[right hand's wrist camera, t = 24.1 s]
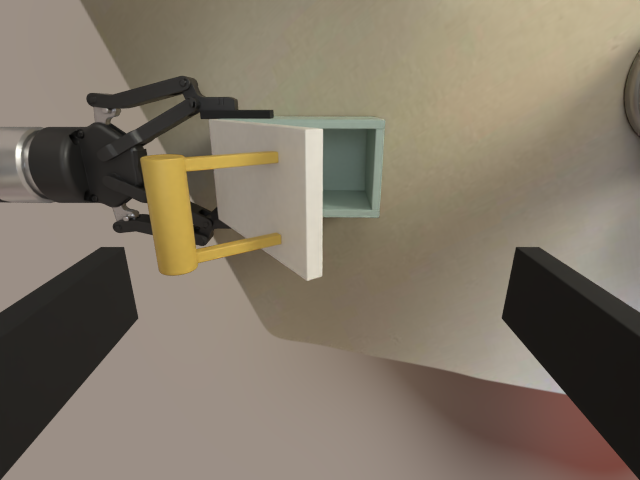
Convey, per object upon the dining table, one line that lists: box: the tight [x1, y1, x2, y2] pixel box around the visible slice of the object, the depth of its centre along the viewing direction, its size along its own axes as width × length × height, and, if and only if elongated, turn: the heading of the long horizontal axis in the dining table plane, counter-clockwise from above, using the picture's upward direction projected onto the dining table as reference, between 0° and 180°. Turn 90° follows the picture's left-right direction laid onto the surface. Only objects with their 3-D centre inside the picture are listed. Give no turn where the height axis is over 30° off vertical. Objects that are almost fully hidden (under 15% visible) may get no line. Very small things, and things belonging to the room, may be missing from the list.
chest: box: [224, 116, 385, 218], centre depth 39 cm, size 15×9×10 cm, turn 90°
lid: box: [140, 119, 323, 281], centre depth 26 cm, size 16×9×9 cm
